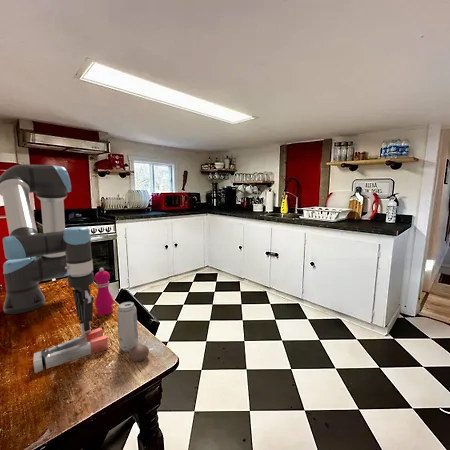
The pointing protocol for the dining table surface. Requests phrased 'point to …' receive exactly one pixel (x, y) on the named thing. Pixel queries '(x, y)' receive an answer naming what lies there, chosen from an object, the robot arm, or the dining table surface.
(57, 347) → the tongs arm
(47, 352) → the tongs fixed
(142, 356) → the egg
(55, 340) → the dining table surface
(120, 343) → the energy drink can
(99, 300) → the pepper mill
